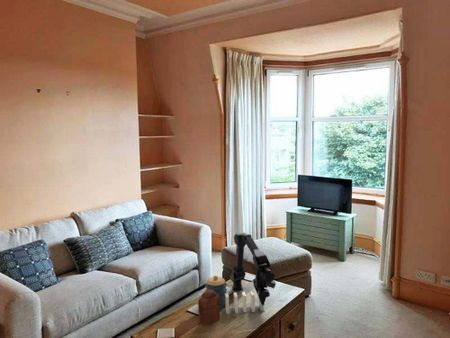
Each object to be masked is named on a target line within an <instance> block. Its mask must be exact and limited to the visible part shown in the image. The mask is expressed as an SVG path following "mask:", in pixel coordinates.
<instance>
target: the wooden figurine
mask: <svg viewBox="0 0 450 338" xmlns="http://www.w3.org/2000/svg"><path fill="white" fill-rule="evenodd" d="M205 290H206V289H205ZM205 290H204V291H203V292H202V293H201V296H200V298H198V307H197V310H198V311H197V312H198V314H199V324H200V325H201V326H208V325H211V324H213V323H216V322H219V320H220V319H221V318H220V317H221V307H219V304H220V299H219V295H217V293H216V292H215V291H214V290H206V291H205Z"/></svg>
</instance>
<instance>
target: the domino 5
mask: <svg viewBox="0 0 450 338" xmlns="http://www.w3.org/2000/svg"><path fill="white" fill-rule="evenodd" d="M258 304H259V305H258V306H259V308H260V310H261V311H264V310H265V307H264V306H265V305H264V306H262V304H261V302H260V299H259V298H258Z"/></svg>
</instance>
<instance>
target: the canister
mask: <svg viewBox="0 0 450 338" xmlns="http://www.w3.org/2000/svg"><path fill="white" fill-rule="evenodd" d="M227 285H228V284H227V283H226V280H225V278H223V277H221V276H218V275H214V276H211V277H209V278H208V279H207V280H206V283H205V286H204V287H205V290H204V292H205V291H206V290H214V291H215V292H216V293H217V295H219V299H220V304H219V307H220V308H223V307H225V293H227V291H228V290H227Z"/></svg>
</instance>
